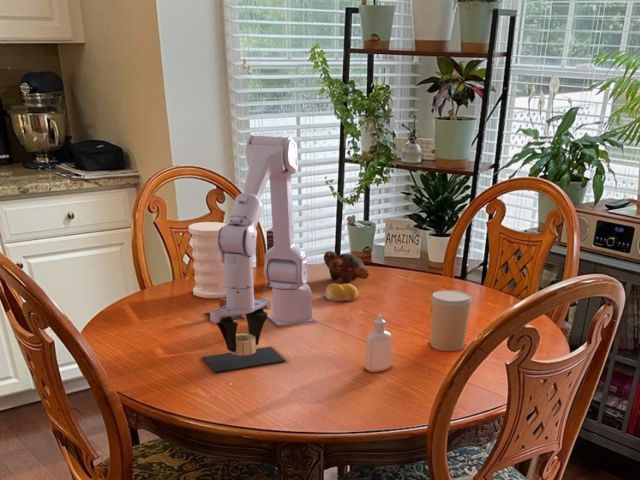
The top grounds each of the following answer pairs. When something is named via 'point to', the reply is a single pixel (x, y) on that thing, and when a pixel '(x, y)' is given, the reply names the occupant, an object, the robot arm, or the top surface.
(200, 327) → the top surface
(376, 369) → the eye dropper bottle
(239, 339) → the wooden ring
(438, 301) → the white canister
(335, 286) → the bread roll
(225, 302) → the tape post
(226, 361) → the mat
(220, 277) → the decorative container
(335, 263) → the decorative turtle
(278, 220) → the robot arm
